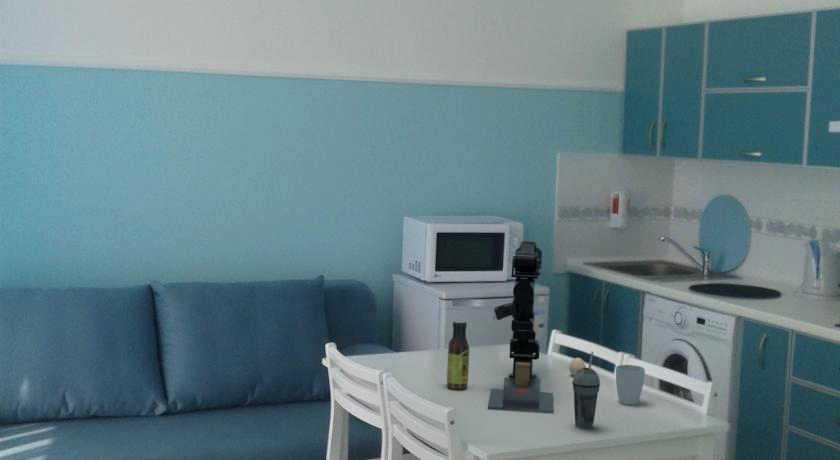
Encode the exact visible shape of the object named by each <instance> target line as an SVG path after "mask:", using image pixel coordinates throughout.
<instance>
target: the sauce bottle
mask: <svg viewBox="0 0 840 460" xmlns="http://www.w3.org/2000/svg"><path fill="white" fill-rule="evenodd" d="M467 323H468V322H467V321H465V320H458V319H457V320H453V321H452V327H453V329H452V330H453V331H452V337H451V339H450V340H449V341H448V352H447V365H446V366H447V367H446V387H447V388H448V389H450V390H456V391H458V390H465V389H467V388H468V383H469V363H470V345H469V342H468V341H467V340H468V339H467V337H466V336H467V332H466V330H467V326H468V325H467Z"/></svg>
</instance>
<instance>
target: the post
mask: <svg viewBox="0 0 840 460" xmlns="http://www.w3.org/2000/svg"><path fill="white" fill-rule="evenodd" d="M529 375H530V363H525V362H516V366H515V385H525V386H529Z"/></svg>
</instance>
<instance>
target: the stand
mask: <svg viewBox="0 0 840 460" xmlns="http://www.w3.org/2000/svg"><path fill="white" fill-rule="evenodd" d="M540 382H541V380H540V379H537V378H536V379H534V378H531V379H529V386H525V385H515V378H512V377H504V381H503V388H502V389H500V388H490V391H489V392H490V393H489V397H488V402H487V410H494V411H508V412H509V411H511V412H529V413H541V414H543V413H544V414H554V413H555V411H554V410H555V408H554V407H555V405H554V393H553V392H549V391H548V392H545V391H540V390H541V383H540Z"/></svg>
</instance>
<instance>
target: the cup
mask: <svg viewBox="0 0 840 460" xmlns="http://www.w3.org/2000/svg"><path fill="white" fill-rule="evenodd" d="M645 372H646V369H645V368H644V367H642V366H639V365H635V364H634V365H633V364H621V365H619V364H618V365H616V366H615V385H616V392H617V393H616V394H617V397H618V402H619V403H620V404H622V405H625V406H635V405H637V404H638V403H639V400H640V399H641V394H642V391H643V387H644V382H645V374H646V373H645Z"/></svg>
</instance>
